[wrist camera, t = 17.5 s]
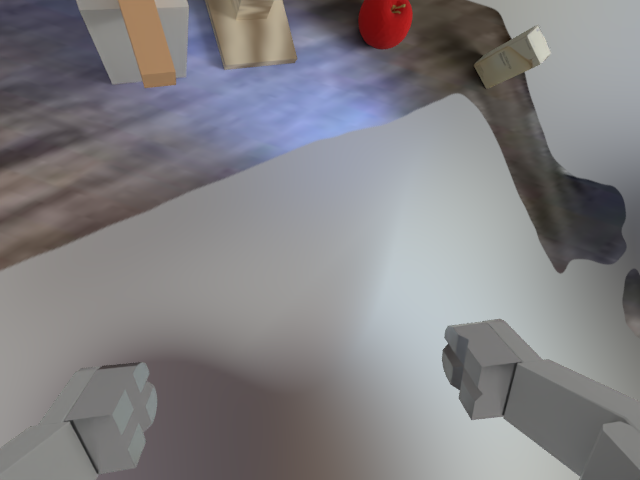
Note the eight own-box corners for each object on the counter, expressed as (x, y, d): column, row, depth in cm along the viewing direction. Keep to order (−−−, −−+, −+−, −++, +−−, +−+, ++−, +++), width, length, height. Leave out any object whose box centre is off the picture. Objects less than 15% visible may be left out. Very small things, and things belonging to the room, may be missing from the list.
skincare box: (472, 65, 73) (525, 34, 62) (484, 54, 74) (538, 22, 63) (486, 90, 75) (541, 64, 63) (497, 79, 76) (552, 52, 65)
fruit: (342, 35, 61) (371, -1, 52) (362, -4, 63) (394, -45, 53) (381, 68, 64) (414, 39, 55) (399, 30, 66) (435, -4, 57)
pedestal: (112, 84, 48) (79, 10, 32) (88, 10, 46) (42, -105, 31) (186, 76, 51) (188, 6, 36) (165, 8, 50) (159, -96, 34)
